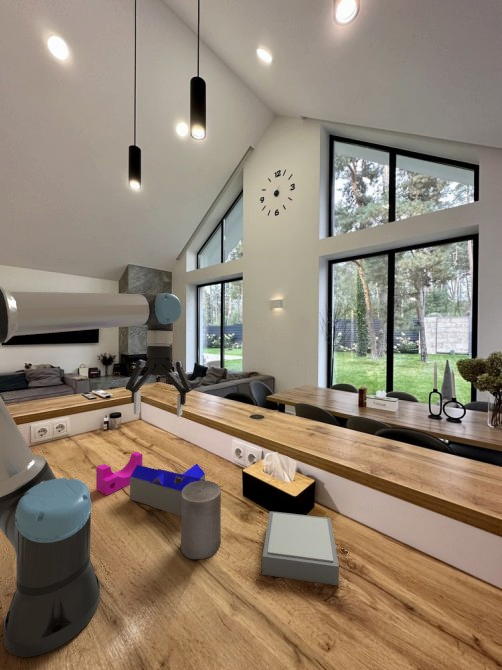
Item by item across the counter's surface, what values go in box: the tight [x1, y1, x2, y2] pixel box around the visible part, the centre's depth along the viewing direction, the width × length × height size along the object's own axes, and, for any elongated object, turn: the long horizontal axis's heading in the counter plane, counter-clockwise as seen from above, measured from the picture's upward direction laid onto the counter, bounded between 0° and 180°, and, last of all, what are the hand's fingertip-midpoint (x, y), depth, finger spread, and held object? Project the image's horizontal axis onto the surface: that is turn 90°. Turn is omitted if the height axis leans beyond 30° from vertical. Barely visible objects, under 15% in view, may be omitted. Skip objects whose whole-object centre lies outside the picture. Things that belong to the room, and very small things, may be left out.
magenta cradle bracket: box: [95, 451, 143, 496], centre depth 101 cm, size 15×6×8 cm, turn 146°
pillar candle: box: [180, 480, 222, 560], centre depth 72 cm, size 10×10×15 cm
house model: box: [129, 463, 206, 517], centre depth 93 cm, size 25×15×10 cm, turn 67°
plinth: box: [261, 511, 340, 586], centre depth 70 cm, size 16×16×4 cm
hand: (158, 414), depth 89 cm, fingers open, 13 cm apart
